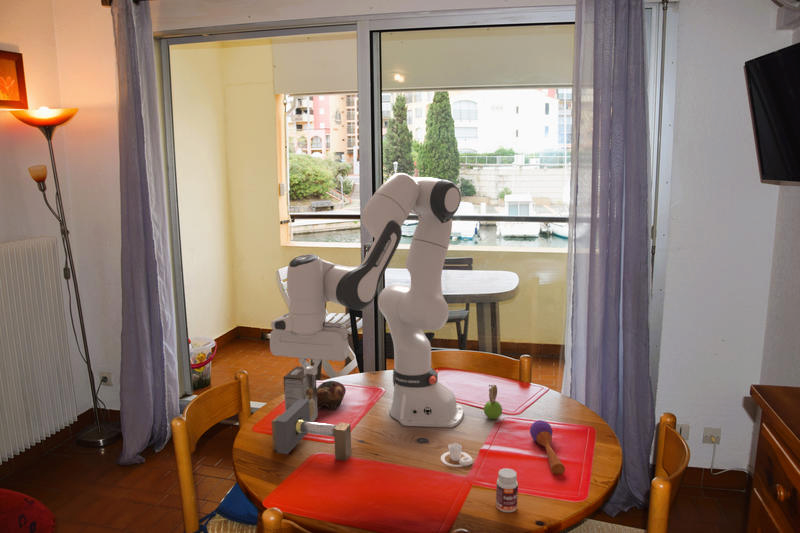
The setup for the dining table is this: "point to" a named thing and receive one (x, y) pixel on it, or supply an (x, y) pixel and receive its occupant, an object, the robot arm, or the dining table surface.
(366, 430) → the dining table surface
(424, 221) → the robot arm
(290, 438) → the grey flat block
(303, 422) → the rod stand
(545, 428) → the purple and brown maraca
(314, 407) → the coffee box
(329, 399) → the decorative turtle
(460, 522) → the dining table surface
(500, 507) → the pill bottle
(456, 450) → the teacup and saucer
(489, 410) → the green feathered ball toy
